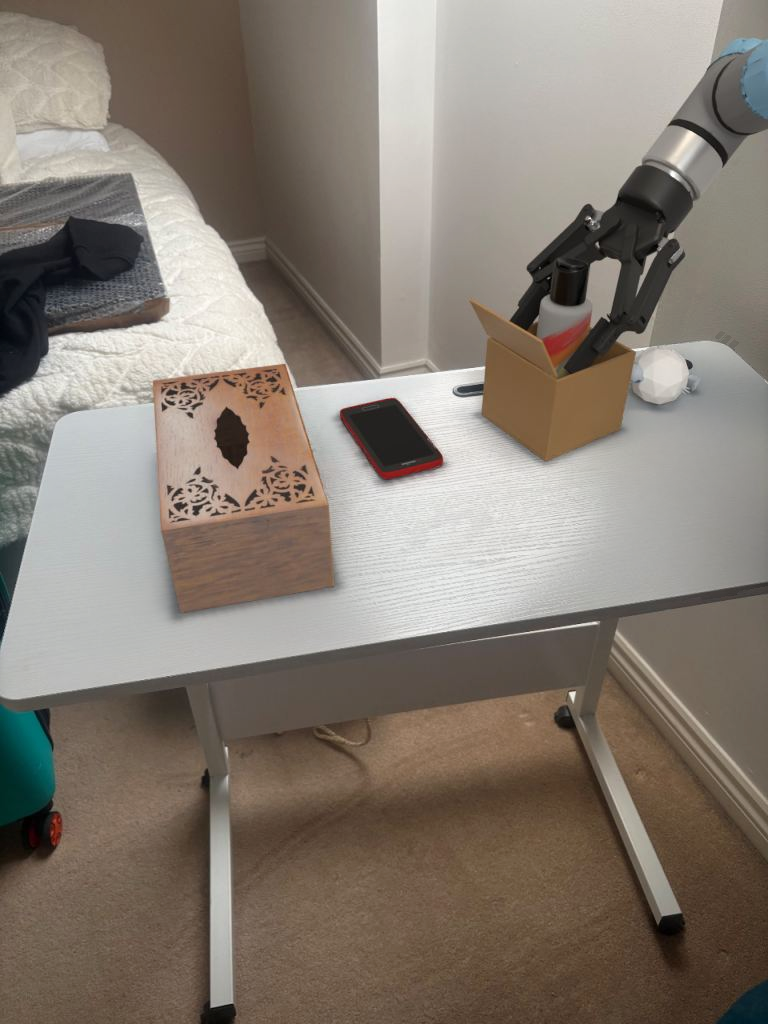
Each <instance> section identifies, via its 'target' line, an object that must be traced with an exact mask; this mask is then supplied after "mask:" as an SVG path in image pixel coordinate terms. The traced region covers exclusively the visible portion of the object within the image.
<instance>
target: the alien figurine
mask: <svg viewBox="0 0 768 1024" xmlns="http://www.w3.org/2000/svg"><path fill="white" fill-rule="evenodd" d="M688 381H691V382H692V386H691V388H690V387H688V386H687V385H688ZM699 383H700V377H699V376H696V375H692V371H690V370H689V367H688V364H687V361H686V358H684V357H683V356H682V355H680V354H679V353H678V352H677V351H675V350H674V349H671V348H666V347H660V346H657V347H654V348H651V349H648V350H644V351H642V352H641V354H640V355H639V356H638V357H637V358H635V359H634V364H633V369H632V374H631V379H630V385H631V388H632V393H634V394H635V395H636V396H638V397H639V398H640V399H642V400H643V401H645V402H648V403H651V404H656V405H662V404H666V403H670V402H673V401H675V400H676V399H677V398H678V397H679V396H680V395H681V394H682V393H683V394H684V396H687V393H688V394H690V393H691V392H690V391H689V390H692V392H694V390H696V389H697V386H698V384H699Z"/></svg>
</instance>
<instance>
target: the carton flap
mask: <svg viewBox="0 0 768 1024" xmlns="http://www.w3.org/2000/svg"><path fill="white" fill-rule="evenodd" d="M468 301H469V303H470V305H471V306H472V309H473V311H474V313H475V314H476V317H477V319H478V321H479V323H480V324H481V327H482V328H483V330H484V332H485V335H487V336H488V337H489V338H490V337H492V338H493V339H495V340H496V341H498V342H500V343H501V344H503V345H504V346H506V347H508V348H509V349H511V350H512V351H514V352H516V353H517V354H519V355H520V356H522V357H524V358H525V359H527V360H528V361H530V362H532V363H533V364H535V365H536V366H538V367H540V368H541V369H543V370H545V371H546V372H548V373H549V374H551V375H553V376H554V377H557V376H558V375H557V373H556V371H555V368H554V366H553V364H552V361H551V359H550V357H549V354H548V352H547V350H546V348H545V345H544V343H543V341H542V340H541V339H539V338H537V337H536V336H534V335H532V334H531V333H529V332H527V331H525V330H524V329H522V328H520V327H519V326H517V325H515V324H514V323H512V322H510V321H509V319H507V318H505V317H503V316H502V315H500V314H498V313H497V312H495V311H493V310H491V309H490V308H488V307H486V306H485V305H483V304H481V303H479V302H477V301H476V300H475V299H473V298H470V299H469V300H468Z"/></svg>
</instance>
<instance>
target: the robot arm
mask: <svg viewBox="0 0 768 1024" xmlns="http://www.w3.org/2000/svg"><path fill="white" fill-rule="evenodd" d="M766 130H768V37H767V38H766V39H764V40H762V39H760V38H755V37H751V38H746V37H738V38H736V39H734V40H732V41H731V42H730V43H728V44H727V45H726V46H725V48H724V49H723V50H722V51H721V53H719V55H718V56H717V58H716V59H714V60H712V61H711V63H710V64H709V65H708V67H707V68H706V70H705V73H703V75H702V77H701V79H699V82H697V84H696V86H695V87H694V88H693V90H692V91H691V93H690V94H689V95H688V97H687V98H686V99H685V101H684V102H683V103H682V105H681V106H680V108H679V109H678V110H677V111H676V113H675V114H674V116H673V117H672V119H671V120H670V121H669V123H668V124H667V125H666V127H665V128H664V129H663V130H662V132H661V133H660V135H658V137H657V138H656V140H655V141H654V142H653V144H652V145H651V146H650V147H649V149H648V150H647V152H646V153H645V154H644V155H643V157H642V159H641V164H640V165H638V166H636V167H635V168H634V169H633V171H632V172H631V173H630V175H629V176H628V178H627V179H626V180H625V182H624V183H623V185H622V186H621V187H620V188H619V190H618V192H617V197H616V200H615V202H614V204H613V205H612V206H611V207H610V208H607V210H605V211H602V210H598V209H595V208H594V206H593V205H592V204H591V203H586V204H585V205H584V206H582V208H581V209H580V211H579V213H578V214H577V216H576V217H575V219H574V220H573V221H572V222H571V223H570V224H569V225H568V226H567V227H566V228H565V229H564V230H562V231H561V232H560V233H559V234H558V235H557V236H556V237H555V238H554V239H553V240H552V241H551V242H550V243H549V244H548V245H547V246H546V247H545V248H543V249H542V250H541V252H539V253H538V254H537V255H536V256H535V257H534V258H533V259H532V260H531V261H530V262H529V263H528V264H527V265H526V271H527V272H528V273H529V275H530V277H531V278H532V282H531V284H530V285H529V286H528V288H527V290H526V291H524V294H523V295H522V297H521V298H520V299H519V300H518V303H517V307H518V308H517V309H516V310H515V312H514V313H513V315H512V316H511V317H510V319H508V321H510V322H512V323H514V324H515V325H517V326H519V327H520V328H522V329H524V330H525V331H527V330H528V329H529V327H530V326H531V325H532V323H535V322H536V319H537V318H539V311H540V304H541V300H542V299H543V298H544V297H545V296H547V295H549V294H550V289H551V282H552V275H553V267H554V261H555V259H556V258H558V257H571V258H575V259H579V260H582V261H585V262H588V263H590V265H591V264H593V263H595V262H597V261H598V262H601V261H603V260H604V259H606V258H609V259H611V260H617V261H618V262H620V269H619V273H618V278H617V283H616V287H615V292H614V295H613V301H612V305H611V309H610V313H606V317H607V318H605V317H603V316H601V317H600V318H599V319H598V320H597V322H596V323H595V324H594V326H593V327H592V328H593V329H592V330H591V331H590V333H589V334H588V335H587V337H586V338H585V339H584V341H583V342H582V343H581V345H580V346H579V347H578V349H577V350H576V351H575V352H574V354H573V355H572V356H571V358H570V359H569V360H568V362H567V363H566V364H565V366H564V368H565V369H566V370H567V371H568V372H569V373H570V374H573V373H576V372H578V371H581V370H584V369H586V368H589V367H590V366H591V364H592V363H593V362H594V360H595V359H596V358H597V356H598V355H601V356H603V355H605V354H606V353H607V352H608V351H609V349H610V348H611V347H612V345H613V344H614V343H615V341H617V340H618V339H619V338H620V336H621V335H622V334H624V333H626V332H632V333H633V332H634V333H635V334H636V335H641V334H643V333H645V332H646V329H647V327H648V325H649V322H650V320H651V319H652V316H653V314H654V312H655V309H656V308H657V306H658V304H659V301H660V300H661V297H662V295H663V292H664V290H665V288H666V286H667V284H668V282H669V279H670V277H671V275H672V273H673V271H674V270H675V269H676V268H677V267H678V265H680V263H681V262H682V261H683V260H684V259H685V257H686V252H685V250H684V248H683V247H682V245H681V244H680V242H679V241H678V239H677V238H671V239H669V235H670V234H673V233H675V232H676V231H677V230H678V228H679V227H680V225H681V224H682V223H683V221H684V220H685V219H686V218H687V216H688V215H689V213H690V212H691V211H692V210H693V208H694V202H695V201H698V200H700V199H701V197H702V196H703V194H704V193H705V192H706V191H707V189H708V188H709V186H711V184H712V182H713V181H714V180H715V178H716V177H717V176H718V174H719V173H720V172H721V171H722V170H723V168H724V167H725V166H726V164H727V163H728V162H729V160H730V159H731V158H732V156H733V155H734V154H735V152H736V151H737V150H738V148H739V147H740V146H741V145H742V143H743V142H744V141H745V140H746V139H747V138H748V137H749V136H751V135H752V136H753V135H756V134H758V133H761V132H763V131H766ZM597 244H598V245H597ZM655 253H656V255H655V256H654V258H653V260H652V262H651V263H650V265H649V268H648V270H647V272H646V274H645V276H644V279H643V281H642V282H641V285H640V287H639V284H640V279H641V276H643V274H644V271H645V266H646V262H647V257H649V256H650V255H653V254H655ZM638 289H639V290H638ZM608 320H609V321H608Z"/></svg>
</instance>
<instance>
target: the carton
mask: <svg viewBox="0 0 768 1024" xmlns="http://www.w3.org/2000/svg"><path fill="white" fill-rule="evenodd" d="M537 327H538V321H534V322H533V323H532V325H531V326H530V327H529V329H528V330H527V332H529V333H531V334H532V335H534V336H537ZM592 329H593V327H591V326H590V329H589V333H590V331H591V330H592ZM485 350H486V351H485V354H486V355H485V365H484V375H483V388H482V389H483V392H482V404H481V416H483V417H484V418H485V419H486V420H488V421H490V422H491V423H492V424H493V425H494V426H496V427H498V428H499V429H501V430H502V431H503V432H504V433H506V434H507V435H508V436H510V437H512V438H513V439H514V440H516V441H517V442H518V443H520V444H521V445H523V446H524V447H525V448H527V449H528V450H529V451H530V452H532V453H533V454H534V455H536V456H538V457H539V458H540V459H541V460H543V461H544V462H548V461H550V460H553V459H556V458H557V457H559V456H562V455H564V454H567V453H569V452H571V451H573V450H576V449H578V448H581V447H583V446H585V445H587V444H589V443H592V442H594V441H597V440H599V439H601V438H603V437H606V436H608V435H610V434H613V433H615V432H617V431H620V430H621V427H622V422H623V419H624V418H623V417H624V413H625V408H626V403H627V399H628V393H629V389H630V385H631V381H630V379H631V374H632V369H633V364H634V362H635V360H636V354H637V351H635V350H634V349H632V348H630V347H628V346H626V345H624V344H622V343H621V342H619V341H617V340H616V341H615V343H614V344H613V345H612V347H611V348H610V349H609V351H608V352H607V353H606V354H605V355H603V356H601V355H598V356H597V358H596V359H595V360H594V362H593V363H592V364H591V366H590V367H589V368H586V369H584V370H581V371H578V372H576V373H573V374H570V375H568V376H565V377H562V378H560V379H555V378H554V377H552V376H551V375H549V374H547V373H546V372H544V371H543V370H541V369H539V368H538V367H536V366H535V365H533V363H532V362H530V361H528V360H527V359H525V358H524V357H522V356H520V355H519V354H517V353H516V352H514V351H512V350H511V349H509V348H508V347H506V346H504V345H503V344H501V343H500V342H498V341H496V340H495V339H493V338H492V337H490V336H489V337H488V338H487V339H486V349H485Z"/></svg>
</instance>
